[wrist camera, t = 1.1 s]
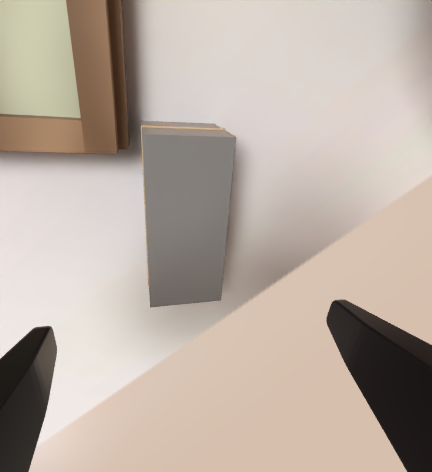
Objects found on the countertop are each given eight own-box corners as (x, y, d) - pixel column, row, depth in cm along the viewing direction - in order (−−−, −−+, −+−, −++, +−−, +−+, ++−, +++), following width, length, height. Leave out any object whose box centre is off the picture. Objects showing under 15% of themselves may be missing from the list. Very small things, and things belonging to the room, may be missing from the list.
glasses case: (214, 122, 18) (237, 136, 14) (206, 259, 23) (221, 300, 19) (140, 119, 17) (140, 132, 13) (147, 263, 22) (149, 308, 18)
